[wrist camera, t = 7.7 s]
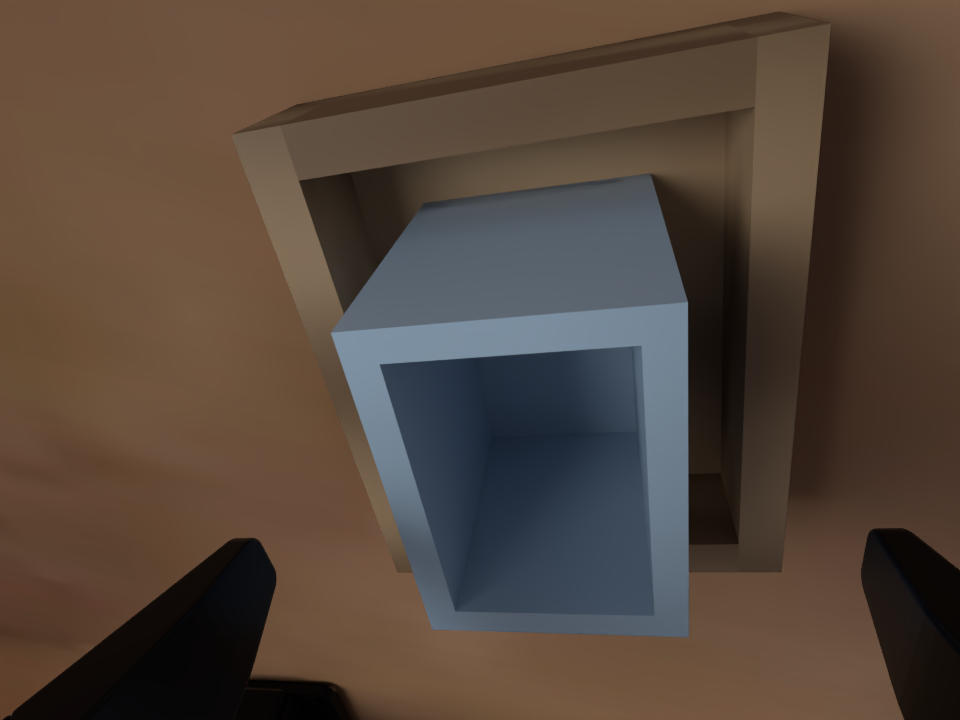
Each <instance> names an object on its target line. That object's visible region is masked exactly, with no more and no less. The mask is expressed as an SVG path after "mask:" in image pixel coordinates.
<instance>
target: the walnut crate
mask: <svg viewBox="0 0 960 720" xmlns="http://www.w3.org/2000/svg"><path fill="white" fill-rule="evenodd" d="M830 30H831V23H827V22H823V21H819V20H814V19H810V18H805V17H801V16H796V15H792V14H787V13H783V12H774V13H769V14H764V15H759V16H754V17H748V18H743V19H738V20H733V21H728V22H723V23H717V24H712V25H707V26H702V27H697V28H691V29H686V30H681V31H676V32H671V33H666V34H660V35H655V36H650V37H645V38H640V39H634V40H629V41H624V42H619V43H614V44H608V45H603V46H598V47H593V48H588V49H583V50H577V51H572V52H567V53H562V54H557V55H551V56H546V57H541V58H536V59H531V60H526V61H520V62H515V63H510V64H505V65H500V66H494V67H489V68H484V69H479V70H474V71H469V72H463V73H458V74H453V75H448V76H443V77H437V78H432V79H427V80H422V81H417V82H412V83H406V84H401V85H396V86H391V87H386V88H380V89H375V90H370V91H365V92H360V93H354V94H349V95H344V96H339V97H334V98H329V99H323V100H318V101H313V102H308V103H303V104H297V105H295V106H293V107H290V108H288V109H286V110H284V111H282V112H280V113H277V114H275V115H273V116H271V117H269V118H266V119H264V120H262V121H260V122H258V123H255V124H253V125H251V126H249V127H247V128H245V129H242V130H240V131H238V132H236V133H234V134H231V136H232V138H233V141H234V144H235V146H236V149H237V152H238V154H239V157H240V159H241V162H242V165H243V167H244V170H245V173H246V175H247V178H248V181H249V183H250V186H251V188H252V191H253V194H254V196H255V199H256V202H257V204H258V207H259V209H260V212H261V215H262V217H263V220H264V223H265V225H266V228H267V230H268V233H269V236H270V238H271V241H272V244H273V246H274V249H275V252H276V254H277V257H278V259H279V262H280V265H281V267H282V270H283V273H284V275H285V278H286V280H287V283H288V286H289V288H290V291H291V294H292V296H293V299H294V301H295V304H296V307H297V309H298V312H299V315H300V317H301V320H302V322H303V325H304V328H305V330H306V333H307V336H308V338H309V341H310V344H311V346H312V349H313V351H314V354H315V357H316V359H317V362H318V365H319V367H320V370H321V372H322V375H323V378H324V380H325V383H326V386H327V388H328V391H329V393H330V396H331V399H332V401H333V404H334V407H335V409H336V412H337V415H338V417H339V420H340V422H341V425H342V428H343V430H344V433H345V436H346V438H347V441H348V443H349V446H350V449H351V451H352V454H353V457H354V459H355V462H356V464H357V467H358V470H359V472H360V475H361V478H362V480H363V483H364V485H365V488H366V491H367V493H368V496H369V499H370V501H371V504H372V507H373V509H374V512H375V514H376V517H377V520H378V522H379V525H380V528H381V530H382V533H383V535H384V538H385V541H386V543H387V546H388V549H389V551H390V554H391V556H392V559H393V562H394V564H395V567H396V570H397V572H413V571H412V568H411V565H410V562H409V559H408V557H407V554H406V551H405V548H404V545H403V542H402V539H401V536H400V533H399V530H398V527H397V525H396V522H395V519H394V516H393V513H392V510H391V507H390V504H389V501H388V498H387V495H386V492H385V490H384V487H383V484H382V481H381V478H380V475H379V472H378V469H377V466H376V463H375V460H374V457H373V455H372V452H371V449H370V446H369V443H368V440H367V437H366V434H365V431H364V428H363V425H362V422H361V420H360V417H359V414H358V411H357V408H356V405H355V402H354V399H353V396H352V393H351V390H350V387H349V385H348V382H347V379H346V376H345V373H344V370H343V367H342V364H341V361H340V358H339V355H338V352H337V350H336V347H335V344H334V341H333V338H332V335H331V332H332V330H333V329H334V327H335V326H336V325H337V323H338V322H339V320H340V319H341V318H342V316H343V315H344V314H345V312H346V311H347V309H348V308H349V307H350V305H351V304H352V302H353V301H354V300H355V298H356V297H357V295H358V294H359V293H360V291H361V290H362V288H363V287H364V286H365V284H366V283H367V281H368V280H369V279H370V277H371V276H372V275H373V273H374V272H375V270H376V269H377V268H378V266H379V265H380V263H381V262H382V261H383V259H384V258H385V256H386V255H387V254H388V252H389V251H390V249H391V248H392V247H393V245H394V244H395V242H396V241H397V240H398V238H399V237H400V236H401V234H402V233H403V231H404V230H405V229H406V227H407V226H408V224H409V223H410V222H411V220H412V219H413V217H414V216H415V215H416V213H417V212H418V210H419V209H420V208H421V206H422V205H423V203H427V202H435V201H442V200H450V199H458V198H465V197H473V196H481V195H488V194H496V193H503V192H511V191H519V190H526V189H534V188H542V187H549V186H557V185H564V184H572V183H580V182H587V181H595V180H603V179H610V178H618V177H625V176H633V175H641V174H648V173H650V174H651V177H652V180H653V184H654V187H655V191H656V194H657V198H658V201H659V205H660V208H661V211H662V215H663V218H664V222H665V225H666V229H667V232H668V236H669V239H670V242H671V246H672V249H673V253H674V256H675V260H676V263H677V267H678V270H679V273H680V277H681V280H682V284H683V287H684V291H685V294H686V297H687V301H688V530H689V572H781V571H782V560H783V549H784V538H785V527H786V516H787V505H788V494H789V483H790V472H791V461H792V450H793V439H794V427H795V416H796V405H797V394H798V383H799V372H800V361H801V350H802V339H803V328H804V317H805V306H806V295H807V284H808V273H809V262H810V251H811V240H812V229H813V218H814V207H815V196H816V185H817V174H818V163H819V152H820V141H821V130H822V119H823V108H824V97H825V85H826V74H827V63H828V52H829V41H830Z"/></svg>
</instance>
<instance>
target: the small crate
mask: <svg viewBox="0 0 960 720" xmlns="http://www.w3.org/2000/svg"><path fill="white" fill-rule="evenodd" d="M331 335H332V338H333V341H334V344H335V347H336V350H337V352H338V355H339V358H340V361H341V364H342V367H343V370H344V373H345V376H346V379H347V382H348V385H349V387H350V390H351V393H352V396H353V399H354V402H355V405H356V408H357V411H358V414H359V417H360V420H361V422H362V425H363V428H364V431H365V434H366V437H367V440H368V443H369V446H370V449H371V452H372V455H373V457H374V460H375V463H376V466H377V469H378V472H379V475H380V478H381V481H382V484H383V487H384V490H385V492H386V495H387V498H388V501H389V504H390V507H391V510H392V513H393V516H394V519H395V522H396V525H397V527H398V530H399V533H400V536H401V539H402V542H403V545H404V548H405V551H406V554H407V557H408V559H409V562H410V565H411V568H412V571H413V574H414V577H415V580H416V583H417V586H418V589H419V592H420V594H421V597H422V600H423V603H424V606H425V609H426V612H427V615H428V618H429V621H430V624H431V627H432V629H433V630H465V631H498V632H532V633H565V634H599V635H633V636H666V637H689V530H688V301H687V297H686V294H685V291H684V287H683V284H682V280H681V277H680V273H679V270H678V267H677V263H676V260H675V256H674V253H673V249H672V246H671V242H670V239H669V236H668V232H667V229H666V225H665V222H664V218H663V215H662V211H661V208H660V205H659V201H658V198H657V194H656V191H655V187H654V184H653V180H652V177H651V174H650V173H648V174H641V175H633V176H625V177H618V178H610V179H603V180H595V181H587V182H580V183H572V184H564V185H557V186H549V187H542V188H534V189H526V190H519V191H511V192H503V193H496V194H488V195H481V196H473V197H465V198H458V199H450V200H442V201H435V202H427V203H423V205H422V206H421V208H420V209H419V210H418V212H417V213H416V215H415V216H414V217H413V219H412V220H411V222H410V223H409V224H408V226H407V227H406V229H405V230H404V231H403V233H402V234H401V236H400V237H399V238H398V240H397V241H396V242H395V244H394V245H393V247H392V248H391V249H390V251H389V252H388V254H387V255H386V256H385V258H384V259H383V261H382V262H381V263H380V265H379V266H378V268H377V269H376V270H375V272H374V273H373V275H372V276H371V277H370V279H369V280H368V281H367V283H366V284H365V286H364V287H363V288H362V290H361V291H360V293H359V294H358V295H357V297H356V298H355V300H354V301H353V302H352V304H351V305H350V307H349V308H348V309H347V311H346V312H345V314H344V315H343V316H342V318H341V319H340V320H339V322H338V323H337V325H336V326H335V327H334V329H333V330H332V332H331Z"/></svg>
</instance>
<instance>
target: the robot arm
mask: <svg viewBox="0 0 960 720" xmlns="http://www.w3.org/2000/svg"><path fill="white" fill-rule="evenodd" d="M861 579H862V585H863V589H864V593H865V596H866V599H867V603H868V606H869V609H870V613H871V616H872V619H873V623H874V626H875V629H876V633H877V636H878V639H879V643H880V646H881V649H882V653H883V656H884V659H885V663H886V666H887V669H888V673H889V676H890V679H891V683H892V686H893V689H894V692H895V695H896V698H897V702H898V705H899V707H900V710H901V712H902V715H903V718H904V720H960V570H959V569H958V568H956V567H955V566H954V565H953V564H951V563H950V562H949V561H948V560H946V559H945V558H944V557H943V556H941V555H940V554H939V553H937V552H936V551H935V550H934V549H932V548H931V547H930V546H929V545H927V544H926V543H925V542H924V541H922V540H921V539H920V538H919V537H917V536H916V535H915V534H913V533H912V532H910V531H908V530H906V529H903V528H878V529H872V530H871V531H870V532H869V534H868V537H867V542H866V547H865V553H864V558H863V563H862V568H861ZM275 587H276V571H275V569H274V567H273V565H272V563H271V561H270V559H269V557H268V555H267V553H266V552H265V550H264V548H263V546H262V544H261V543H260V541H259V540H257V539H256V538H235V539H232V540H230V541H228V542H227V543H226V544H224V545H223V546H222V547H221V548H219V549H218V550H217V551H216V552H214V553H213V554H212V555H210V556H209V557H208V558H207V559H205V560H204V561H203V562H202V563H200V564H199V565H198V566H197V567H195V568H194V569H193V570H191V571H190V572H189V573H188V574H186V575H185V576H184V577H183V578H181V579H180V580H179V581H178V582H176V583H175V584H174V585H173V586H171V587H170V588H169V589H167V590H166V591H165V592H164V593H162V594H161V595H160V596H159V597H157V598H156V599H155V600H154V601H152V602H151V603H150V604H148V605H147V606H146V607H145V608H143V609H142V610H141V611H140V612H138V613H137V614H136V615H135V616H133V617H132V618H131V619H130V620H128V621H127V622H126V623H124V624H123V625H122V626H121V627H119V628H118V629H117V630H116V631H114V632H113V633H112V634H111V635H109V636H108V637H107V638H105V639H104V640H103V641H102V642H100V643H99V644H98V645H97V646H95V647H94V648H93V649H92V650H90V651H89V652H88V653H86V654H85V655H84V656H83V657H81V658H80V659H79V660H78V661H76V662H75V663H74V664H73V665H71V666H70V667H69V668H67V669H66V670H65V671H64V672H62V673H61V674H60V675H59V676H57V677H56V678H55V679H54V680H52V681H51V682H50V683H48V684H47V685H46V686H45V687H43V688H42V689H41V690H40V691H38V692H37V693H36V694H35V695H33V696H32V697H31V698H30V699H28V700H27V701H26V702H24V703H23V704H22V705H21V706H19V707H18V708H17V709H16V710H15V711H13V713H12V716H11V715H9V716H7V717H5V718H4V719H3V720H350V719H349V718H348V716H347V714H346V712H345V710H344V708H343V706H342V705H341V703H340V701H339V699H338V697H337V695H336V693H335V692H334V691H333V690H332V689H331V688H329V687H327V686H323V685H307V684H285V683H262V682H248V681H249V678H250V675H251V672H252V668H253V665H254V662H255V658H256V655H257V651H258V648H259V644H260V641H261V637H262V633H263V630H264V626H265V623H266V619H267V615H268V612H269V608H270V605H271V601H272V598H273V594H274V590H275Z"/></svg>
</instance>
